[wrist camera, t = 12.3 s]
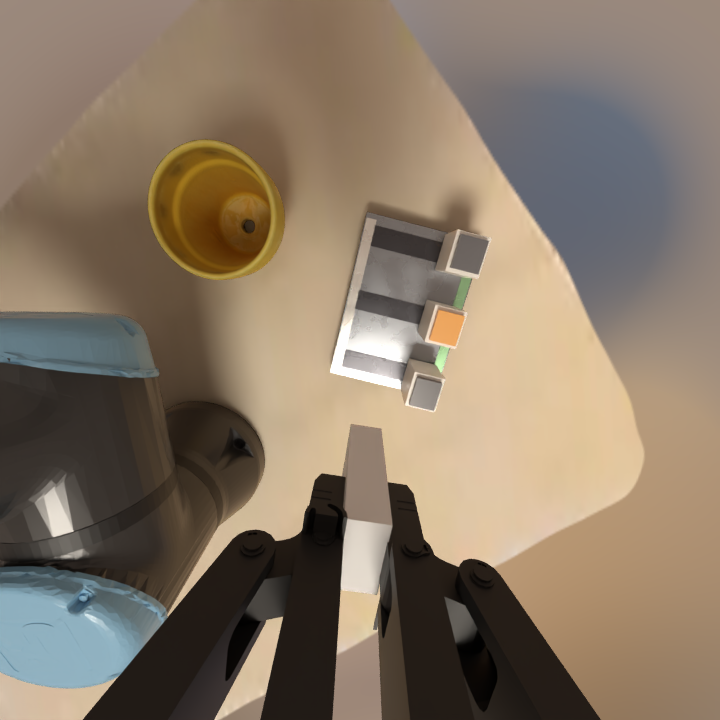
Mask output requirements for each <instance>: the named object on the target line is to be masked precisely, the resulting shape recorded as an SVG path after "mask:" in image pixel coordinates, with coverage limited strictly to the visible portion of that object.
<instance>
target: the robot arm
mask: <svg viewBox="0 0 720 720" xmlns="http://www.w3.org/2000/svg"><path fill="white" fill-rule="evenodd" d="M157 376H159V369H158V368H156V367H155V364H154V361H153V357H152V354H151V350H150V347H149V343H148V340H147V336H146V334H145V331H144V330H143V328H142V327H141V326H140V325H139V324H138V323H137V322H136V321H134V320H133V319H131V318H129V317H126V316H123V315H118V314H107V313H85V312H0V672H1V673H3V674H5V675H8V676H10V677H13V678H16V679H18V680H21V681H24V682H27V683H31V684H35V685H41V686H46V687H53V688H85V687H91V686H95V685H100V684H103V683H105V682H108V681H110V680H113V679H115V678H116V677H118V676H119V677H118V678H117V679H116V680H115V681H114V683H113V684H112V685H111V686H110V687H109V689H108V690H107V691H106V692H105V693H104V695H103V696H102V697H101V698H100V700H99V701H98V702H97V703H96V704H95V706H94V707H93V708H92V709H91V710H90V712H89V713H88V714H87V715H86V716H85V718H84V719H83V720H214V719H215V717H216V715H217V713H218V711H219V709H220V708H221V706H222V704H223V702H224V700H225V698H226V696H227V694H228V693H229V691H230V689H231V687H232V685H233V683H234V681H235V679H236V677H237V676H238V674H239V672H240V670H241V668H242V666H243V664H244V662H245V661H246V659H247V657H248V655H249V653H250V651H251V649H252V647H253V645H254V644H255V642H256V640H257V638H258V636H259V634H260V632H261V630H262V629H263V627H264V625H265V622H266V620H268V619H273V618H277V617H282V616H283V621H282V625H281V630H280V634H279V639H278V643H277V648H276V652H275V656H274V661H273V665H272V670H271V674H270V679H269V683H268V688H267V692H266V697H265V701H264V706H263V711H262V715H261V719H260V720H332V715H333V699H334V683H335V668H336V653H337V637H338V622H339V606H340V590H345V591H353V592H360V593H368V594H375V595H377V593H378V588H379V584H380V600H379V605H378V609H377V613H376V618H375V622H374V628H373V630H377V627H378V635H379V659H380V682H381V683H380V684H381V706H382V720H600V718H599V717H598V715H597V714H596V712H595V711H594V709H593V708H592V707H591V705H590V704H589V702H588V701H587V699H586V698H585V696H584V695H583V694H582V692H581V691H580V689H579V688H578V686H577V685H576V684H575V682H574V681H573V679H572V678H571V676H570V675H569V673H568V672H567V671H566V669H565V668H564V666H563V665H562V663H561V662H560V660H559V659H558V658H557V656H556V655H555V653H554V652H553V651H552V649H551V647H550V646H549V645H548V643H547V642H546V640H545V639H544V637H543V636H542V634H541V633H540V632H539V630H538V629H537V627H536V626H535V624H534V623H533V622H532V620H531V619H530V617H529V616H528V614H527V613H526V611H525V610H524V609H523V607H522V606H521V604H520V603H519V601H518V600H517V599H516V597H515V596H514V594H513V593H512V591H511V590H510V589H509V587H508V586H507V584H506V583H505V581H504V580H503V578H502V577H501V576H500V574H499V573H498V572H497V571H496V570H495V569H494V568H493V567H491V566H490V565H488V564H487V563H485V562H482V561H480V560H476V559H468V560H464V561H463V562H462V563H461V564H460V566H459V567H457V566H455V565H452V564H450V563H447V562H445V561H443V560H441V559H439V558H438V557H436V556H435V555H434V553H433V550H432V548H431V546H430V545H429V544H428V543H427V542H426V541H425V540H424V538H423V534H422V529H421V525H420V520H419V516H418V512H417V507H416V505H415V498H414V494H413V493H412V491H411V490H410V489H409V487H408V486H407V485H403V484H396V483H389V482H387V474H386V465H385V457H384V448H383V439H382V431H381V429H380V428H374V427H367V426H360V425H354V424H351V427H350V433H349V439H348V445H347V450H346V456H345V462H344V468H343V475H342V476H335V475H329V474H321V475H320V476H319V477H318V478H317V479H316V480H315V482H314V487H313V491H312V496H311V500H310V505H309V506H308V507H307V509H306V511H305V515H304V522H303V529H302V531H301V532H300V533H299V534H298V535H296V536H295V537H293V538H290V539H286V540H281V541H275V540H274V538H273V537H272V536H271V535H270V534H268V533H267V532H265V531H261V530H249V531H245V532H243V533H240V534H238V535H237V536H236V537H235V538H234V539H232V541H231V542H230V543H229V544H228V545H227V547H226V548H225V549H224V550H223V551H222V553H221V554H220V555H219V556H218V558H217V559H216V560H215V561H214V562H213V564H212V565H211V566H210V567H209V568H208V570H207V571H206V572H205V573H204V574H203V576H202V577H201V578H200V579H199V580H198V582H197V583H196V584H195V585H194V586H193V588H192V589H191V590H190V591H189V592H188V594H187V595H186V596H185V597H184V598H183V600H182V601H181V602H180V603H179V604H178V606H177V607H176V608H175V609H174V610H173V612H172V613H171V614H170V615H169V616H167V614H168V612H169V611H170V609H171V607H172V605H173V604H174V602H175V600H176V598H177V597H178V595H179V593H180V592H181V590H182V588H183V586H184V585H185V583H186V581H187V579H188V578H189V576H190V574H191V573H192V571H193V569H194V567H195V566H196V564H197V562H198V561H199V559H200V557H201V555H202V554H203V552H204V550H205V548H206V547H207V545H208V543H209V542H210V540H211V538H212V536H213V534H214V533H215V531H216V529H217V528H218V526H219V525H221V524H222V523H223V522H224V521H226V520H227V519H228V518H229V517H231V516H232V515H233V514H234V513H236V512H237V511H238V510H239V509H241V508H242V507H243V506H244V505H245V504H246V503H247V502H248V501H249V500H250V499H251V497H252V496H253V494H254V493H255V491H256V489H257V487H258V485H259V483H260V481H261V479H262V476H263V472H264V453H263V449H262V445H261V443H260V441H259V438H258V437H257V435H256V433H255V432H254V430H253V429H252V428H251V427H250V425H249V424H248V423H247V422H246V421H245V420H244V419H242V418H241V417H240V416H239V415H237V414H236V413H234V412H232V411H231V410H229V409H227V408H224V407H222V406H219V405H216V404H212V403H207V402H188V403H183V404H179V405H176V406H174V407H171V408H169V409H168V410H166V411H165V410H164V405H163V401H162V396H161V392H160V387H159V382H158V377H157ZM167 617H168V618H167Z"/></svg>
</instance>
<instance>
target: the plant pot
mask: <svg viewBox="0 0 720 720" xmlns="http://www.w3.org/2000/svg"><path fill="white" fill-rule="evenodd" d="M148 214H149V219H150V223H151V227H152V229H153V232H154V234H155V237H156V239H157V240H158V242H159V244H160V245H161V247H162V248H163V250H164V251H165V252H166V253H167V255H168V256H169V257H170V258H171V259H172V260H173V261H174V262H175V263H177V264H178V265H179V266H181V267H182V268H183V269H185V270H187V271H188V272H190V273H192V274H195V275H197V276H200V277H203V278H207V279H214V280H226V279H234V278H239V277H243V276H246V275H249V274H252V273H254V272H256V271H258V270H259V269H261V268H262V267H264V266H265V265H266V264H267V263H268V262H269V261H270V260H271V259H272V258H273V256H274V255H275V253H276V252H277V250H278V248H279V246H280V243H281V241H282V237H283V233H284V226H285V215H284V207H283V203H282V199H281V197H280V194H279V192H278V189H277V187H276V186H275V184H274V182H273V181H272V179H271V178H270V177H269V175H268V174H267V173H266V172H265V171H264V170H263V168H262V167H261V166H260V165H259V164H258V163H257V162H256V161H254V160H253V159H252V158H251V157H250V156H249V155H247V154H246V153H245V152H243V151H242V150H240V149H238V148H237V147H235V146H233V145H230V144H228V143H225V142H221V141H217V140H208V139H203V140H194V141H190V142H187V143H184V144H182V145H180V146H178V147H176V148H175V149H173V150H172V151H171V152H169V153H168V154H167V155H166V156H165V157H164V158H163V159H162V161H161V162H160V163H159V165H158V166H157V168H156V170H155V172H154V174H153V177H152V179H151V182H150V186H149V192H148ZM248 220H251V221H253V222H254V224H255V229H254V231H253V232H252V233H247V232H246V231H245V229H244V223H245V222H246V221H248Z"/></svg>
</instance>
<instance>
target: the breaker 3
mask: <svg viewBox="0 0 720 720" xmlns="http://www.w3.org/2000/svg"><path fill="white" fill-rule="evenodd" d="M444 382H445V378H444V376H443V375H442V373H441V372H440V370H439V369H438V367H437V366H436V365H435V364H430V363H426V362H422V361H418V360H414V359H410V358H409V360H408V364H407V367H406V371H405V374H404V377H403V381H402V384H401V392H402V396H403V400H404V404H405V405H406V406H410V407H414V408H418V409H422V410H427V411H431V412H435V410H436V407H437V404H438V401H439V398H440V395H441V392H442V388H443V385H444Z"/></svg>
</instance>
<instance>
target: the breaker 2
mask: <svg viewBox="0 0 720 720" xmlns="http://www.w3.org/2000/svg"><path fill="white" fill-rule="evenodd" d="M467 314H468V312H465V311H463V310H461V309H459V308H457V307H455V306H451V305H447V304H443V303H439V302H435V301H431V300H427V301H426V304H425V307H424V311H423V314H422V318H421V321H420V324H419V328H418V331H417V332H418V333H419V335H420V336H421V338H422V339H423V340H424V342H428V343H432V344H436V345H440V346H444V347H448V348H452V349H456V347H457V344H458V341H459V338H460V335H461V332H462V329H463V326H464V323H465V320H466V317H467Z"/></svg>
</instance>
